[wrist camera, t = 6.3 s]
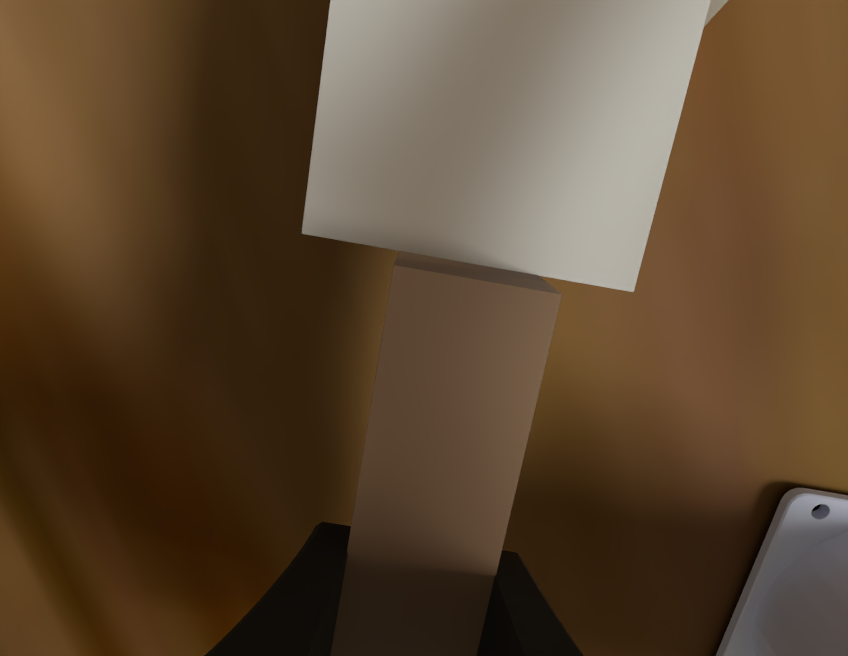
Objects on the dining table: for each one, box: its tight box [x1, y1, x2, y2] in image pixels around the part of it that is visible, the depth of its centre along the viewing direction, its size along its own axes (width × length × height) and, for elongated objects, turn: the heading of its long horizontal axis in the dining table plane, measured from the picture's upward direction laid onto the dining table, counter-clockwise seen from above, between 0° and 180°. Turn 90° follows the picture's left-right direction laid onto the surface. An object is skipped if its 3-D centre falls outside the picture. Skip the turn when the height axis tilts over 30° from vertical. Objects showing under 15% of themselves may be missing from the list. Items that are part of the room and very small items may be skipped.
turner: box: [302, 0, 711, 656], centre depth 11 cm, size 6×17×4 cm, turn 170°
